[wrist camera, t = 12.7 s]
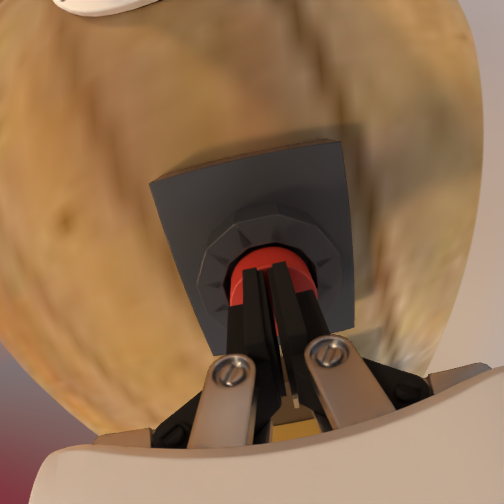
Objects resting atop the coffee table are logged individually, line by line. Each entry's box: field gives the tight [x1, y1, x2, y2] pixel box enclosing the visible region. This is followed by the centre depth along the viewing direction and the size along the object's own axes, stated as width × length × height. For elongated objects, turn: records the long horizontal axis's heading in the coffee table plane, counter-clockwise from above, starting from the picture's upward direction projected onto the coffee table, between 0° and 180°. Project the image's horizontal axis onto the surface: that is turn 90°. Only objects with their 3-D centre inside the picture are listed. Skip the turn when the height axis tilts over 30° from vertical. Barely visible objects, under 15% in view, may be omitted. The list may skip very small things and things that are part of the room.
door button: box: [230, 247, 317, 336], centre depth 12 cm, size 4×4×2 cm
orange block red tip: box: [272, 419, 320, 443], centre depth 18 cm, size 6×2×5 cm, turn 102°
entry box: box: [149, 139, 354, 356], centre depth 14 cm, size 11×9×4 cm
